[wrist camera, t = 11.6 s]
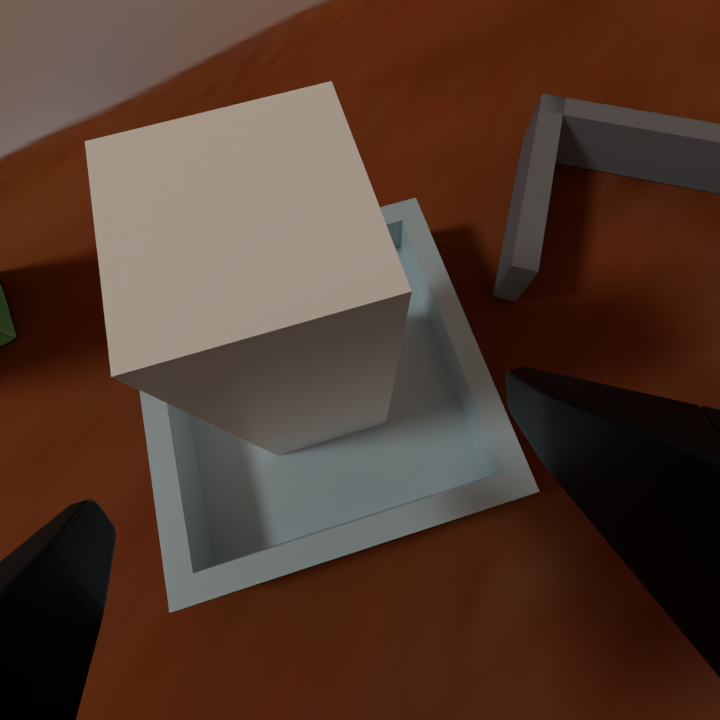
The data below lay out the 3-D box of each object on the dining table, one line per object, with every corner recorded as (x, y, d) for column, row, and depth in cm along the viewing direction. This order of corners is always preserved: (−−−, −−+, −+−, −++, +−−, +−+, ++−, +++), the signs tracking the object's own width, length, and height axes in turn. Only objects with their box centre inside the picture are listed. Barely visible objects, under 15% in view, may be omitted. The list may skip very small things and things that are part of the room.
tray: (513, 492, 18) (539, 491, 16) (202, 594, 17) (169, 612, 15) (410, 235, 23) (415, 197, 20) (156, 305, 22) (124, 276, 19)
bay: (770, 359, 20) (836, 336, 17) (492, 296, 22) (511, 265, 19) (764, 185, 23) (819, 141, 20) (522, 140, 25) (542, 93, 22)
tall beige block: (386, 422, 19) (411, 290, 7) (278, 456, 18) (110, 377, 7) (348, 305, 21) (317, 45, 9) (249, 333, 20) (80, 101, 8)
